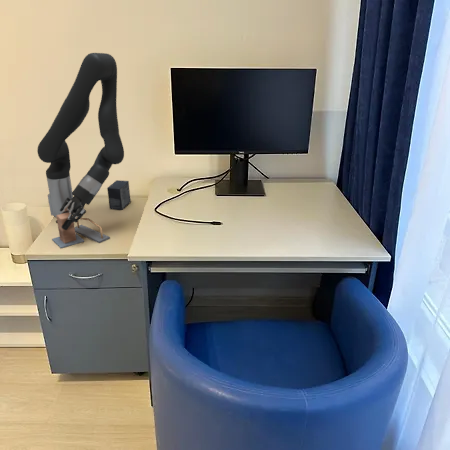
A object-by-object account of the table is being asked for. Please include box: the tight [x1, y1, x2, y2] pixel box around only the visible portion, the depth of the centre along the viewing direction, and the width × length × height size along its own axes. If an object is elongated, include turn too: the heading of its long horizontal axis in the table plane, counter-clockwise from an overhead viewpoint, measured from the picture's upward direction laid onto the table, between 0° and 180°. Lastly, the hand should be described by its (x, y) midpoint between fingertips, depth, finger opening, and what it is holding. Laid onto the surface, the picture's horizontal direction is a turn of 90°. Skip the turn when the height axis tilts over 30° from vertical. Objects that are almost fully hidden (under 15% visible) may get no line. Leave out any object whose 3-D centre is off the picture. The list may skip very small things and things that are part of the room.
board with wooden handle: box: [74, 216, 111, 244], centre depth 168 cm, size 5×18×7 cm, turn 52°
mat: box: [51, 232, 85, 249], centre depth 164 cm, size 9×9×1 cm
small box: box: [106, 180, 132, 211], centre depth 195 cm, size 11×6×10 cm, turn 170°
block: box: [55, 212, 77, 243], centre depth 162 cm, size 4×4×10 cm
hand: (60, 226), depth 160 cm, fingers open, 5 cm apart
